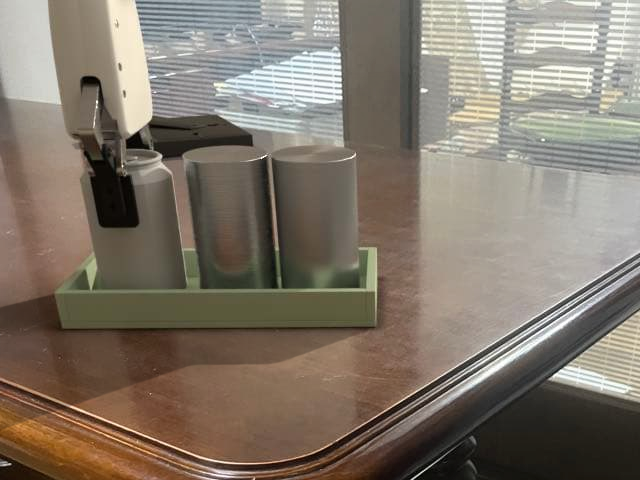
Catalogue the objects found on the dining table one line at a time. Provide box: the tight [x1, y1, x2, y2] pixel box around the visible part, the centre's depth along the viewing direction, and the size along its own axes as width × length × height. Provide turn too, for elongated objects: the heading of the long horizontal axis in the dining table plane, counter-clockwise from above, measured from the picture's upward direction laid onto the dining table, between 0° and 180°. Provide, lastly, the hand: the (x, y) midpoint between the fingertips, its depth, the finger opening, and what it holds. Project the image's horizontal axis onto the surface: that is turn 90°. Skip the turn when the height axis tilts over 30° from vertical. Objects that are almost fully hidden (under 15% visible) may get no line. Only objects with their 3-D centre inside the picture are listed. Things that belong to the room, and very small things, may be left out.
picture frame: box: [148, 114, 254, 158], centre depth 141 cm, size 16×3×21 cm
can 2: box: [181, 146, 279, 289], centre depth 76 cm, size 7×7×12 cm
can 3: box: [270, 144, 360, 289], centre depth 76 cm, size 7×7×12 cm
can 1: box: [79, 149, 187, 290], centre depth 76 cm, size 8×8×12 cm
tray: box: [53, 246, 378, 330], centre depth 79 cm, size 27×13×3 cm, turn 91°
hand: (131, 212), depth 75 cm, fingers closed on can 1, 7 cm apart
